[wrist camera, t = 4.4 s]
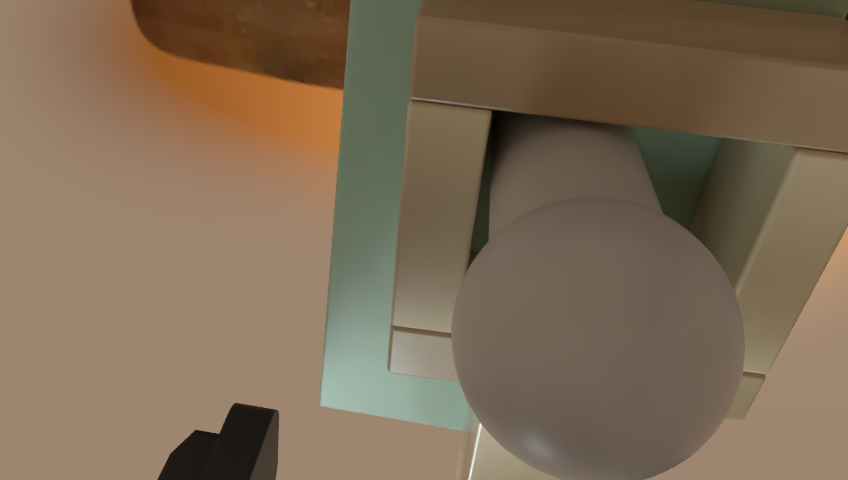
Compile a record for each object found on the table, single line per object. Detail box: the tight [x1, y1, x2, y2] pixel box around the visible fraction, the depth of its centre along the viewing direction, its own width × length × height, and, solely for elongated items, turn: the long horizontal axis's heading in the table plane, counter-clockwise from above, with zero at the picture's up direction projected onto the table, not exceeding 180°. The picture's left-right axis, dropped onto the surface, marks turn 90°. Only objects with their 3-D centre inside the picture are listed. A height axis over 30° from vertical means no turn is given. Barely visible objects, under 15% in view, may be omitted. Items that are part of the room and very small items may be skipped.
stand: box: [319, 0, 848, 480], centre depth 19 cm, size 9×6×32 cm, turn 172°
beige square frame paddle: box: [387, 0, 848, 480], centre depth 10 cm, size 10×5×2 cm, turn 175°
